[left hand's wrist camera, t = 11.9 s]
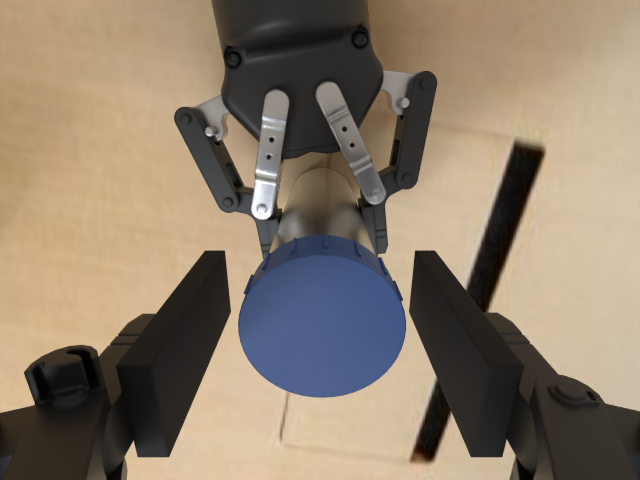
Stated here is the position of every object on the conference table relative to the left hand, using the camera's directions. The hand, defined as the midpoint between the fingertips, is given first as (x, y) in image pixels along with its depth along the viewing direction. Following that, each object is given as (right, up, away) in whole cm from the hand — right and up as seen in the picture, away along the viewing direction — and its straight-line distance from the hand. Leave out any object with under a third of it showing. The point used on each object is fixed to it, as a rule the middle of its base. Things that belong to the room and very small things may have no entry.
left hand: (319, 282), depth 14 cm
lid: (0, -1, -2) cm, 3 cm away
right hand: (0, 0, +9) cm, 9 cm away
